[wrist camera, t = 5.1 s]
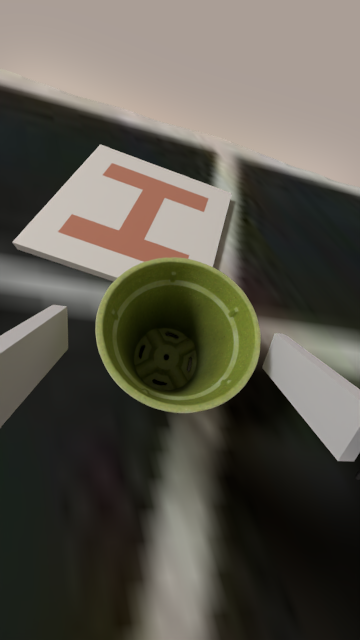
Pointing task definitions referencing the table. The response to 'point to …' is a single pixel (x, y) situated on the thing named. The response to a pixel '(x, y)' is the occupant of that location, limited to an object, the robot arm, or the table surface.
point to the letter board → (126, 217)
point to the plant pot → (178, 334)
